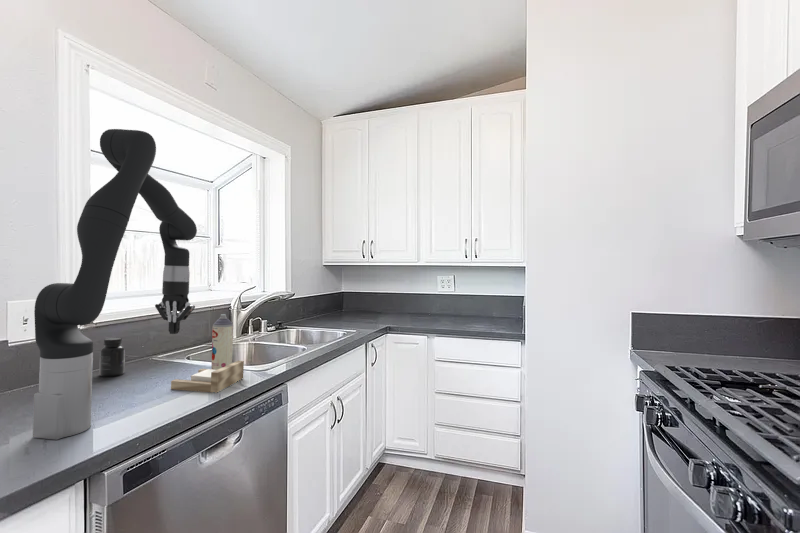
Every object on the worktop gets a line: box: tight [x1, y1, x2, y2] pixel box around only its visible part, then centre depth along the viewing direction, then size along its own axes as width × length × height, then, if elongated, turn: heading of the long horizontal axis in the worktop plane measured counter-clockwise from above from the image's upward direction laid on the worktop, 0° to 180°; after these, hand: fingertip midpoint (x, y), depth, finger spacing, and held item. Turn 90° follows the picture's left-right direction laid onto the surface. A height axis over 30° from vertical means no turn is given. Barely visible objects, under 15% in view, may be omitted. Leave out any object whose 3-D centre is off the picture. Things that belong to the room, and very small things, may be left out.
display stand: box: [170, 360, 245, 394], centre depth 128 cm, size 15×15×6 cm
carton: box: [190, 368, 216, 382], centre depth 127 cm, size 8×7×4 cm
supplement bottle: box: [98, 337, 126, 378], centre depth 135 cm, size 7×7×12 cm
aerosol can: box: [211, 313, 234, 370], centre depth 145 cm, size 7×7×20 cm
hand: (174, 333), depth 129 cm, fingers closed
